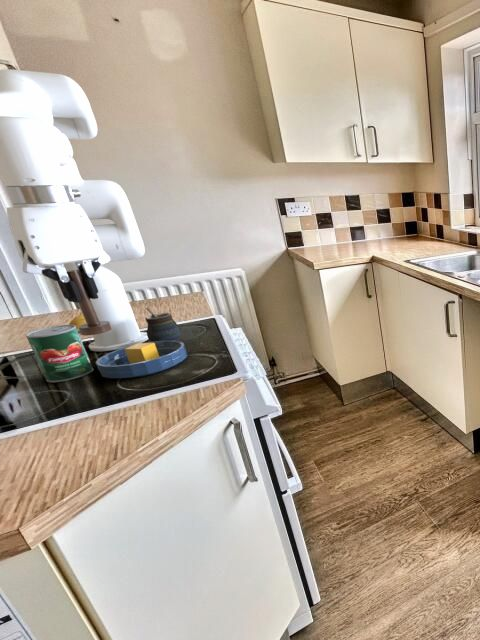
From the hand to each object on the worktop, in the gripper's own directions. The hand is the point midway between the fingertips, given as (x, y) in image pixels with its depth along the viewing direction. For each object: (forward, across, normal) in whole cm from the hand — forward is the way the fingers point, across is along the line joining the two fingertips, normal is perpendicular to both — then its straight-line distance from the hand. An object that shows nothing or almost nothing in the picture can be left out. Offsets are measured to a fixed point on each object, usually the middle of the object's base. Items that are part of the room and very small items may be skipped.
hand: (83, 299), depth 80 cm
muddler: (+7, 0, 0) cm, 7 cm away
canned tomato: (+21, -3, -24) cm, 32 cm away
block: (+20, -13, -14) cm, 28 cm away
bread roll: (+22, -25, -65) cm, 73 cm away
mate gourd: (+21, -24, -25) cm, 40 cm away
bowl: (+21, -12, -12) cm, 27 cm away
